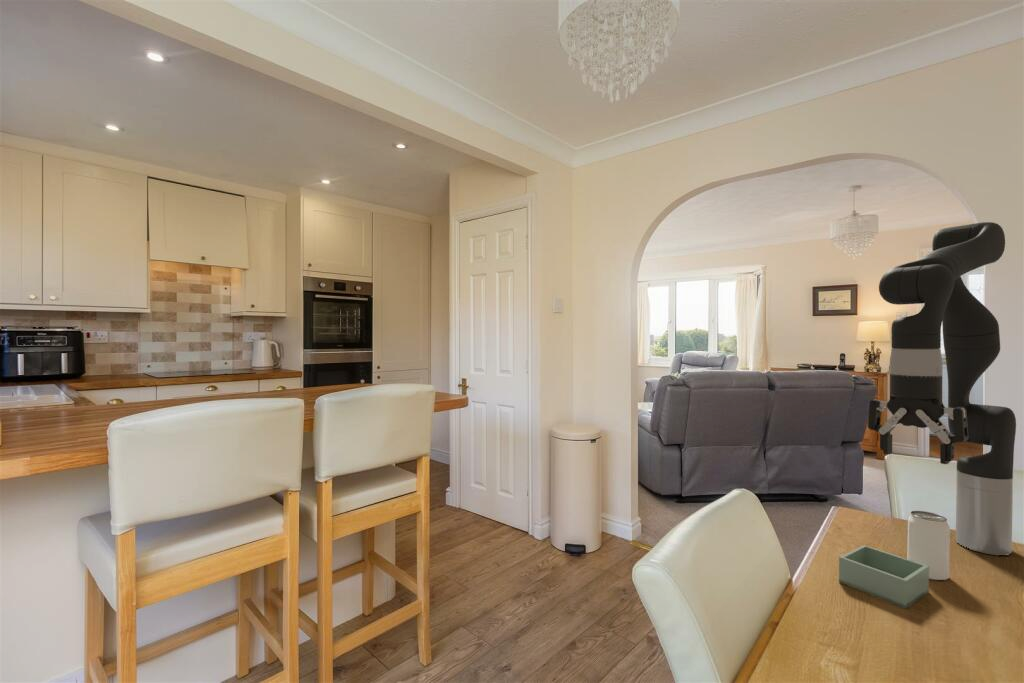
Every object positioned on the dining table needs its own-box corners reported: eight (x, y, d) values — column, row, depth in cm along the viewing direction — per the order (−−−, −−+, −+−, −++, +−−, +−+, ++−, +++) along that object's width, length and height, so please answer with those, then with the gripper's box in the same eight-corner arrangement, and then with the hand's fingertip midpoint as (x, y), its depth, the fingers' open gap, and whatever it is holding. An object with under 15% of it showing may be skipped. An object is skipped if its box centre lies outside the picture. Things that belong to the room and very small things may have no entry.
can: (957, 583, 92) (958, 523, 92) (919, 579, 94) (920, 520, 94) (935, 567, 99) (935, 511, 99) (900, 564, 100) (900, 508, 100)
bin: (863, 568, 98) (863, 544, 98) (928, 592, 89) (928, 566, 89) (838, 582, 93) (839, 556, 93) (905, 608, 83) (906, 581, 83)
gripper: (973, 374, 84) (973, 463, 84) (878, 369, 96) (878, 447, 96) (959, 376, 80) (958, 470, 80) (862, 371, 92) (862, 453, 92)
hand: (915, 458), depth 88 cm, fingers open, 8 cm apart
